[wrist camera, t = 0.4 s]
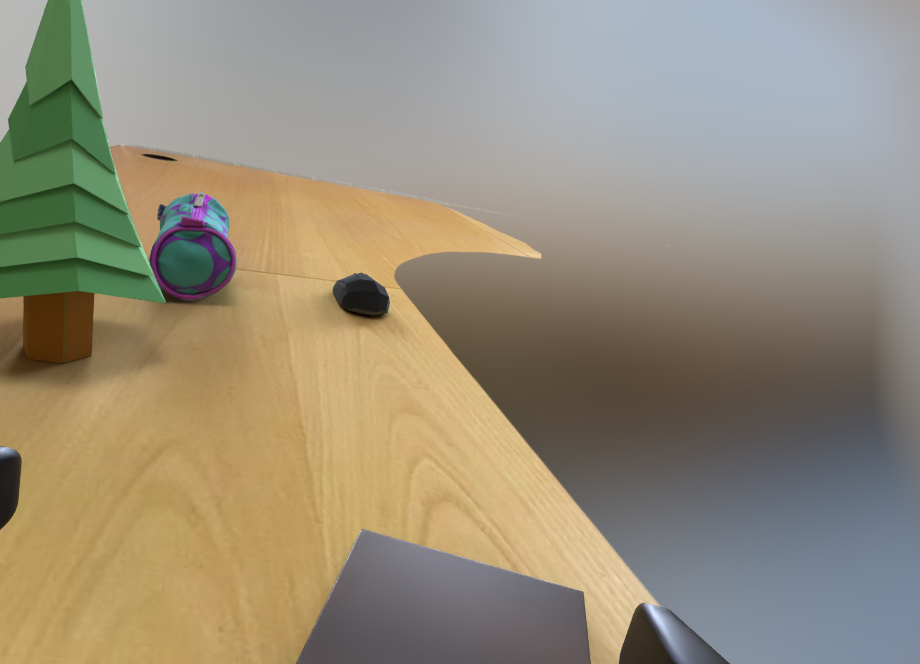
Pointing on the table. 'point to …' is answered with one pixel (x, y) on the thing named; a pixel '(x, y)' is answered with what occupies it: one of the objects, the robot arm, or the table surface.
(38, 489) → the table surface
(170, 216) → the pencil case
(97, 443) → the table surface
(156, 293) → the decorative tree
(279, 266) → the table surface
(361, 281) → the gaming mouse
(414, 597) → the walnut board
